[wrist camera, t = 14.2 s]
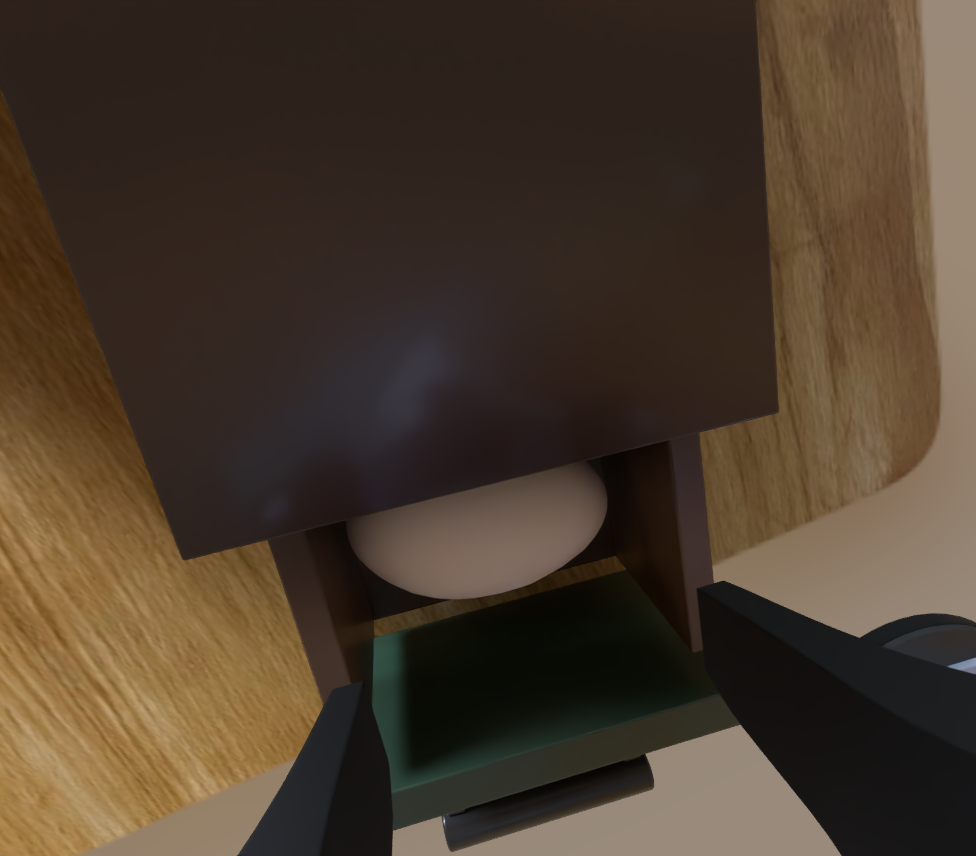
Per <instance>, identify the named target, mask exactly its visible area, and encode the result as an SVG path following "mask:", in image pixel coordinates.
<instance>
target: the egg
mask: <svg viewBox="0 0 976 856" xmlns="http://www.w3.org/2000/svg"><path fill="white" fill-rule="evenodd" d="M606 512H607V493H606V489H605V486H604V483H603V481H602V479H601V478H600V477H599V475H598V474H597V472H596V471H595V469H594V468H592V467H591V466H590V465H589V464H588V463H587V462H586V461H583V462H579V463H575V464H571V465H567V466H563V467H559V468H555V469H551V470H547V471H543V472H539V473H535V474H531V475H527V476H523V477H519V478H515V479H511V480H506V481H502V482H498V483H494V484H490V485H486V486H482V487H478V488H474V489H470V490H466V491H462V492H458V493H454V494H450V495H446V496H442V497H438V498H434V499H430V500H426V501H422V502H418V503H414V504H410V505H406V506H402V507H398V508H394V509H390V510H386V511H382V512H378V513H374V514H370V515H366V516H362V517H358V518H354V519H350V520H346V529H347V535H348V539H349V542H350V545H351V547H352V549H353V551H354V552H355V554H356V556H357V557H358V559H360V560H361V561H362V562H363V563H364V564H365V565H366V566H367V567H368V568H369V569H370V570H372V571H373V572H374V573H375V574H376V575H378V576H379V577H381V578H382V579H384V580H386V581H387V582H389V583H391V584H393V585H395V586H397V587H400V588H402V589H404V590H406V591H409V592H411V593H414V594H419V595H423V596H428V597H433V598H440V599H470V598H479V597H484V596H489V595H494V594H500V593H504V592H507V591H510V590H514V589H517V588H520V587H523V586H526V585H529V584H532V583H534V582H536V581H537V580H539V579H541V578H543V577H545V576H546V575H548V574H550V573H552V572H554V571H556V570H557V569H559V568H561V567H562V566H564V565H565V564H566V563H568V562H569V561H570V560H571V559H573V558H574V557H575V556H577V555H578V554H579V553H581V552H582V551H583V550H584V549H585V548H586V547H587V546H588V545H589V543H590V542H591V541H592V540H593V539H594V537H595V536H596V534H597V533H598V531H599V529H600V527H601V526H602V524H603V521H604V518H605V515H606Z"/></svg>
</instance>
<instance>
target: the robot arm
mask: <svg viewBox="0 0 976 856" xmlns="http://www.w3.org/2000/svg"><path fill="white" fill-rule="evenodd" d="M696 589H697V599H698V608H699V617H700V627H701V636H702V645H703V654H704V664H705V670H706V672H707V674H708V675H709V677H710V679H711V680H712V682H713V684H714V685H715V687H716V689H717V690H718V692H719V694H720V695H721V697H722V698H723V700H724V702H725V703H726V705H727V706H728V708H729V709H730V711H731V713H732V714H733V715H734V717H735V718H736V719H737V720H738V722H739V723H740V724H741V726H742V727H743V728H744V729H745V731H746V732H747V733H748V734H749V735H750V737H751V738H752V739H753V741H754V742H755V743H756V745H757V746H758V747H759V748H760V750H761V751H762V752H763V753H764V755H765V756H766V757H767V758H768V760H769V761H770V762H771V763H772V765H773V766H774V767H775V768H776V769H777V771H778V772H779V773H780V774H781V776H782V777H783V778H784V779H785V780H786V782H787V783H788V784H789V786H790V787H791V788H792V789H793V791H794V792H795V793H796V794H797V796H798V797H799V798H800V799H801V801H802V802H803V803H804V804H805V806H806V807H807V808H808V809H809V810H810V812H811V813H812V815H813V816H814V817H815V819H816V820H817V821H818V823H819V824H820V825H821V827H822V828H823V829H824V831H825V832H826V833H827V834H828V836H829V838H830V839H831V840H832V842H833V843H834V845H835V846H836V848H837V849H838V851H839V852H840V854H841V855H842V856H976V658H973V659H970V660H966V661H963V662H960V663H957V664H953V665H950V666H943V665H940V664H936V663H933V662H930V661H926V660H923V659H920V658H917V657H913V656H910V655H907V654H904V653H900V652H897V651H894V650H891V649H888V648H885V647H883V646H880V645H877V644H874V643H872V642H869V641H866V640H864V639H861V638H858V637H856V636H853V635H850V634H848V633H845V632H842V631H840V630H837V629H835V628H832V627H830V626H827V625H825V624H823V623H820V622H818V621H815V620H813V619H811V618H808V617H806V616H804V615H801V614H799V613H797V612H795V611H792V610H790V609H788V608H785V607H783V606H781V605H779V604H776V603H774V602H772V601H770V600H768V599H765V598H763V597H761V596H759V595H756V594H754V593H752V592H750V591H747V590H745V589H743V588H741V587H738V586H736V585H733V584H731V583H728V582H726V581H721V582H717V583H713V584H710V585H706V586H703V587H699V588H696ZM392 835H393V808H392V793H391V780H390V768H389V760H388V757H387V754H386V751H385V747H384V744H383V741H382V738H381V734H380V731H379V728H378V725H377V721H376V718H375V715H374V712H373V708H372V705H371V702H370V699H369V695H368V692H367V689H366V686H365V682H364V681H360V682H356V683H353V684H349V685H346V686H342V687H338V688H335V689H333V690H332V691H331V693H330V694H329V696H328V698H327V700H326V702H325V704H324V706H323V708H322V710H321V712H320V714H319V716H318V718H317V721H316V723H315V725H314V727H313V729H312V730H311V732H310V734H309V736H308V738H307V740H306V742H305V744H304V746H303V748H302V750H301V752H300V753H299V755H298V757H297V759H296V761H295V763H294V764H293V766H292V768H291V770H290V772H289V774H288V775H287V777H286V779H285V781H284V782H283V785H282V786H281V788H280V789H279V791H278V793H277V794H276V796H275V798H274V799H273V801H272V802H271V804H270V806H269V807H268V809H267V811H266V812H265V814H264V816H263V817H262V819H261V821H260V822H259V824H258V825H257V827H256V829H255V830H254V832H253V833H252V835H251V836H250V838H249V839H248V841H247V842H246V844H245V845H244V847H243V848H242V850H241V851H240V853H239V854H238V855H237V856H392V837H393V836H392Z"/></svg>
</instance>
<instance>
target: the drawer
mask: <svg viewBox="0 0 976 856" xmlns="http://www.w3.org/2000/svg"><path fill="white" fill-rule="evenodd" d="M586 462H587V463H588V464H589V465H590V466H591V467H592V468H594V469H595V471H596V472H597V474H598V475H599V477H600V478H601V479H602V481H603V483H604V486H605V489H606V493H607V512H606V515H605V518H604V521H603V524H602V526H601V527H600V529H599V531H598V533H597V534H596V536H595V537H594V539H593V540H592V541H591V542H590V543H589V545H588V546H587V547H586V548H585V549H584V550H583V551H582V552H581V553H579V554H578V555H577V556H575V557H574V558H573V559H571V560H570V561H569V562H568V563H566V564H565V565H564V566H562V567H561V568H559V569H557V570H556V571H560V570H564V569H567V568H571V567H575V566H579V565H582V564H586V563H590V562H594V561H597V560H601V559H605V558H609V557H612V556H616V557H617V558H618V559H619V561H620V562H621V563H622V564H623V566H624V567H625V568H626V569H627V570H623V571H619V572H616V573H612V574H608V575H605V576H601V577H597V578H594V579H590V580H586V581H582V582H579V583H575V584H571V585H568V586H564V587H560V588H557V589H553V590H549V591H545V592H542V593H538V594H534V595H531V596H527V597H523V598H520V599H516V600H512V601H508V602H505V603H501V604H497V605H494V606H490V607H486V608H483V609H479V610H475V611H471V612H468V613H464V614H460V615H457V616H453V617H449V618H446V619H442V620H438V621H434V622H431V623H427V624H423V625H420V626H416V627H412V628H409V629H405V630H401V631H397V632H394V633H390V634H386V635H383V636H379V637H375V638H374V620H377V619H380V618H384V617H388V616H391V615H395V614H399V613H403V612H406V611H410V610H414V609H418V608H421V607H425V606H429V605H433V604H436V603H440V602H444V601H448V600H451V599H440V598H433V597H428V596H423V595H419V594H414V593H411V592H409V591H406V590H404V589H402V588H400V587H397V586H395V585H393V584H391V583H389V582H387V581H386V580H384V579H382V578H381V577H379V576H378V575H376V574H375V573H374V572H373V571H372V570H370V569H369V568H368V567H367V566H366V565H365V564H364V563H363V562H362V561H361V560H360V559H358V557H357V556H356V554H355V552H354V551H353V549H352V547H351V545H350V542H349V539H348V535H347V529H346V520H345V521H341V522H337V523H333V524H329V525H325V526H321V527H317V528H313V529H309V530H305V531H301V532H297V533H293V534H289V535H285V536H281V537H277V538H273V539H269V540H268V543H269V546H270V549H271V552H272V555H273V558H274V561H275V564H276V567H277V570H278V573H279V576H280V579H281V582H282V585H283V588H284V591H285V594H286V597H287V600H288V603H289V606H290V609H291V612H292V615H293V618H294V621H295V624H296V626H297V629H298V632H299V635H300V638H301V641H302V644H303V647H304V650H305V653H306V656H307V659H308V662H309V665H310V668H311V671H312V674H313V677H314V680H315V683H316V686H317V689H318V692H319V695H320V698H321V701H322V704H323V706H324V704H325V702H326V700H327V698H328V696H329V694H330V693H331V691H332V690H333V689H335V688H338V687H342V686H346V685H349V684H353V683H356V682H360V681H364V682H365V686H366V689H367V692H368V695H369V699H370V702H371V705H372V708H373V712H374V715H375V718H376V721H377V725H378V728H379V731H380V734H381V738H382V741H383V744H384V747H385V751H386V754H387V757H388V760H389V768H390V780H391V793H392V808H393V830H397V829H400V828H403V827H407V826H410V825H413V824H416V823H420V822H423V821H426V820H430V819H433V818H436V817H439V816H442V821H443V827H444V833H445V837H446V841H447V845H448V848H449V850H450V851H451V852H454V851H457V850H460V849H463V848H467V847H470V846H473V845H476V844H479V843H482V842H486V841H489V840H492V839H495V838H498V837H502V836H505V835H508V834H511V833H514V832H518V831H521V830H524V829H527V828H531V827H534V826H537V825H540V824H543V823H547V822H549V821H553V820H556V819H559V818H562V817H566V816H569V815H572V814H575V813H579V812H582V811H585V810H588V809H591V808H594V807H598V806H601V805H604V804H607V803H611V802H614V801H617V800H620V799H623V798H627V797H630V796H633V795H636V794H639V793H642V792H646V791H649V790H652V789H653V788H654V778H653V774H652V771H651V767H650V764H649V762H648V759H647V757H646V755H645V754H646V753H649V752H652V751H656V750H659V749H662V748H665V747H668V746H672V745H675V744H678V743H681V742H685V741H688V740H692V739H695V738H698V737H701V736H704V735H708V734H711V733H715V732H718V731H721V730H724V729H727V728H731V727H734V726H737V725H741V724H740V723H739V722H738V720H737V719H736V718H735V717H734V715H733V714H732V713H731V711H730V709H729V708H728V706H727V705H726V703H725V702H724V700H723V698H722V697H721V695H720V694H719V692H718V690H717V689H716V687H715V685H714V684H713V682H712V680H711V679H710V677H709V675H708V674H707V672H706V670H705V664H704V654H703V645H702V636H701V627H700V617H699V608H698V599H697V589H696V588H699V587H703V586H706V585H710V584H713V583H714V580H713V570H712V559H711V549H710V539H709V529H708V518H707V508H706V498H705V488H704V478H703V467H702V457H701V447H700V437H699V433H696V434H692V435H688V436H684V437H680V438H676V439H671V440H667V441H663V442H659V443H655V444H651V445H647V446H643V447H639V448H635V449H631V450H627V451H623V452H619V453H615V454H611V455H607V456H603V457H599V458H595V459H591V460H587V461H586ZM556 571H554V572H556Z"/></svg>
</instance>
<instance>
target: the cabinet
mask: <svg viewBox="0 0 976 856" xmlns="http://www.w3.org/2000/svg"><path fill="white" fill-rule="evenodd" d="M0 89H1V92H2V94H3V97H4V99H5V102H6V104H7V107H8V110H9V112H10V115H11V117H12V120H13V123H14V125H15V128H16V130H17V133H18V136H19V138H20V141H21V143H22V146H23V148H24V151H25V154H26V156H27V159H28V161H29V164H30V167H31V169H32V172H33V174H34V177H35V180H36V182H37V185H38V187H39V190H40V192H41V195H42V198H43V200H44V203H45V205H46V208H47V211H48V213H49V216H50V218H51V221H52V224H53V226H54V229H55V231H56V234H57V236H58V239H59V242H60V244H61V247H62V249H63V252H64V255H65V257H66V260H67V262H68V265H69V268H70V270H71V273H72V275H73V278H74V280H75V283H76V286H77V288H78V291H79V293H80V296H81V299H82V301H83V304H84V306H85V309H86V312H87V314H88V317H89V319H90V322H91V324H92V327H93V330H94V332H95V335H96V337H97V340H98V343H99V345H100V348H101V350H102V353H103V356H104V358H105V361H106V363H107V366H108V368H109V371H110V374H111V376H112V379H113V381H114V384H115V387H116V389H117V392H118V394H119V397H120V400H121V402H122V405H123V407H124V410H125V413H126V415H127V418H128V420H129V423H130V425H131V428H132V431H133V433H134V436H135V438H136V441H137V444H138V446H139V449H140V451H141V454H142V457H143V459H144V462H145V464H146V467H147V469H148V472H149V475H150V477H151V480H152V482H153V485H154V488H155V490H156V493H157V495H158V498H159V501H160V503H161V506H162V508H163V511H164V513H165V516H166V519H167V521H168V524H169V526H170V529H171V532H172V534H173V537H174V539H175V542H176V545H177V547H178V550H179V552H180V555H181V557H182V559H183V560H189V559H193V558H197V557H201V556H205V555H209V554H213V553H217V552H221V551H225V550H229V549H233V548H237V547H241V546H245V545H249V544H253V543H257V542H261V541H265V540H269V539H273V538H277V537H281V536H285V535H289V534H293V533H297V532H301V531H305V530H309V529H313V528H317V527H321V526H325V525H329V524H333V523H337V522H341V521H345V520H350V519H354V518H358V517H362V516H366V515H370V514H374V513H378V512H382V511H386V510H390V509H394V508H398V507H402V506H406V505H410V504H414V503H418V502H422V501H426V500H430V499H434V498H438V497H442V496H446V495H450V494H454V493H458V492H462V491H466V490H470V489H474V488H478V487H482V486H486V485H490V484H494V483H498V482H502V481H506V480H511V479H515V478H519V477H523V476H527V475H531V474H535V473H539V472H543V471H547V470H551V469H555V468H559V467H563V466H567V465H571V464H575V463H579V462H583V461H587V460H591V459H595V458H599V457H603V456H607V455H611V454H615V453H619V452H623V451H627V450H631V449H635V448H639V447H643V446H647V445H651V444H655V443H659V442H663V441H667V440H671V439H676V438H680V437H684V436H688V435H692V434H696V433H700V432H704V431H708V430H712V429H716V428H720V427H724V426H728V425H732V424H736V423H740V422H744V421H748V420H752V419H756V418H760V417H764V416H768V415H772V414H776V413H778V412H779V403H778V385H777V367H776V350H775V332H774V314H773V296H772V279H771V261H770V243H769V225H768V208H767V190H766V172H765V154H764V137H763V119H762V101H761V83H760V66H759V48H758V30H757V12H756V0H0Z"/></svg>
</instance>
